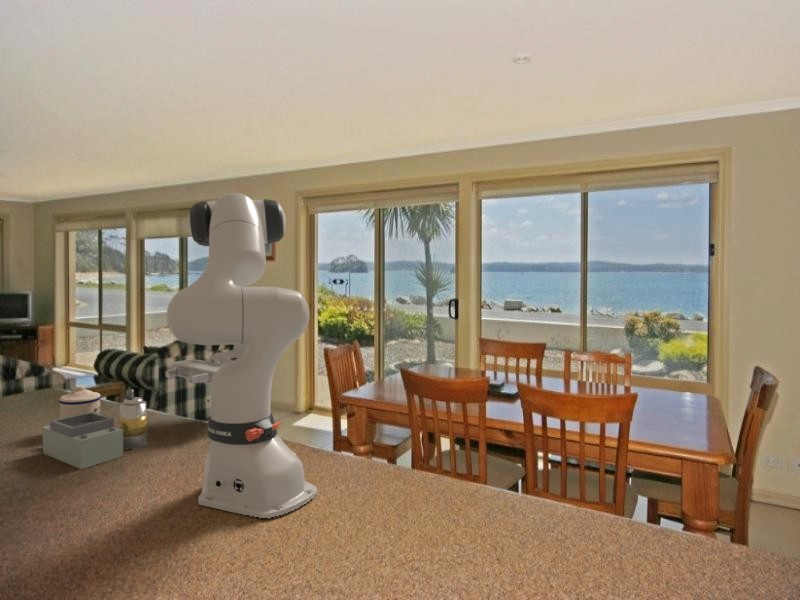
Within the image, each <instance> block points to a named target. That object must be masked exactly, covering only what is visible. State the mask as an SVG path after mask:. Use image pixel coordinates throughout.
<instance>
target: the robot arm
mask: <svg viewBox="0 0 800 600" xmlns="http://www.w3.org/2000/svg"><path fill="white" fill-rule="evenodd" d="M286 228H287V216H286V214H285V211H284V209H283V207H282V205H281V204H280V203H279V202H278V200H272V199H267V198H264V200H260V199H253V198H251V197H249V196H248V195H246V194H244V193H239V192H229V193H226V194H223V195H221V196H219V197H218V199H217V200H210V201H208V200H202V201H199V202H195V203H194V204H193V205H192V206H191V207H190V209H189V213H188V216H187V229H188V231H189V234H190V236H191V237H192V240H193V241H194V242H195V243H196V244H197V245H199V246H203V247H208V257H207V258H208V259H207V264H206V267H205V269H204V271H203V272H202V274H201V275H200V276H199V277H198V278H197V279H196V280H195V281H194V282H192V283H191V284H190V285H188V286H186V287H184V288H182V289H181V290H179V291H177V292H176V293H175V294H174V295H173V297H172V298H171V300H170V302H169V304H168V306H167V309H166V310H167V311H166V323H167V326H168V329H169V331H170V333H171V334H172V335H173V337H175V339H177V341H179V342H180V343H187V344H192V345H193V344H194V345H199V346H200V345H201V346H221V345H222V346H224V345H226V346H227V345H233V346H234V348H233V349H232V350H227V351H222V352H215V353H213V354H212V355H211V356H210V357H209V359H208V360H202V359H186V360H185V359H184V360H178V361H174V362H173V363H172V365H171V368H172V369H167V370H165V377H166V378H169V379H173V378H175V377H179V378H183V379H188V383H191V384H198V383H201V384H202V383H206V384H209V385H210V415H209V417H208V418H207V419H208V420H207V437H208V438H209V446H208V449H207V451H206V455H205V460H204V470H203V479H202V486H201V487H202V488H201V492H200V495H199V496H198V497H197V498H198V499H197V504H198V505H199V506H203V507H206V508H207V507H208V508H212V509H217V510H221V511H226V512H229V513H235V514H240V515H242V516H243V515H244V516H247V515H249V516H248V517H252V516H254V517H253V518H256V517H259V518H258V519H261V518H268V519H272V518H271V517H274V516H277V517H280V516H279V515H281V516H284V515H286V514H288V512H289V513H291V512H294V511H296V510H298V509H299V508H301V507H303V506H305V505H306V504H308V503H309V502H310V500H311V499H312V500H313V499H314V498H315V497H316V496H317V494H318V487H317V486H316V485H314V484H313V483H310V482H308V481H306V480H305V469H304V465H303V462H302V460H301V459H300V458H299V457H298V456H297V454H296V453H295V452H294V451H292V450H291V449H290V448H289V446H288V445H287V444H286V443H285V442H284V441H283V440H282V439H281V438H280V436H279V435H278V429H279V428H282V425H281V423H282V421H278V422H276V421H275V419H274V415H273V413H272V412H271V406H272V405H271V400H272V399H271V398H272V397H271V396H272V384H273V378H274V372H275V370H276V366H277V364H278V362H279V360H280V359H281V357H282V355H283V354H284V353H285V352H286V350H287V349H288V348H289V347H290V346H291V345H292V344H293V343H294V342H295V341H297V340H298V339H300V338H301V337H302V335H303V334H304V333H305V332H306V330H307V328H308V326H309V322H310V309H309V308H310V307H309V304H308V301H307V300H306V298H305V297H304V296H303V294H302V293H301V292H299V291H298V290H294V289H290V288H285V287H280V286H279V287H278V286H251V285H253V284H255V283H257V282H258V281H260V279H261V278H262V277H263V276H264V274H265V271H266V266H267V258H266V257H267V256H266V249H265V248H266V246H265V245H266V244H268V245H271V244H275V243H278V242H279V241H281V240H282V239H283V238H284V234H285V232H286V230H287V229H286ZM315 495H316V496H315ZM312 500H311V501H312ZM307 502H308V503H307ZM304 504H305V505H304ZM302 505H303V506H302ZM300 506H301V507H300ZM295 509H296V510H295ZM290 511H291V512H290ZM285 513H286V514H285ZM283 514H284V515H283ZM274 518H275V517H274Z"/></svg>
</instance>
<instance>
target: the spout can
mask: <svg viewBox="0 0 800 600" xmlns="http://www.w3.org/2000/svg"><path fill="white" fill-rule="evenodd" d="M125 395H126V397H125V399H123V402H121V403H120V404H119V429H122V430H123V448H137V449H139V448H138V447H141V448H143V447H142V446H144V447H146V444H147V445H148V417H147V416H148V415H147V411H148V410H147V401H146V400H144V399H143V398H142V396H141V397H140V396H138V397H137V396H135V389H133V388H131V389H126V393H125Z"/></svg>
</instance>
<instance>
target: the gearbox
mask: <svg viewBox="0 0 800 600" xmlns="http://www.w3.org/2000/svg"><path fill="white" fill-rule="evenodd" d="M49 423H50V424H49V425H45V426H43V427H42V452H43V453H42V454H44V455H46V456H48V457H51V458H53V459H56V460H58V461H60V462H63V463H65V464H67V465H70V466H72V467H75V468H77V469H79V470H83V469H87V468H89V467H93V466H96V464H97V465H99V463H100V464H102V462H103V463H106V462H109V460H110V461H113V460H115V459H114V458H116V459H118V457H119V458H122V457H121V456H123V457H124V449H123V430H122V429H120V428H118V427H116V426H115V419H114V417H111V416H108V415H105V414H101V413H100V414H98V413H94V412H89V413H84V414H80V415H75V416H71V417H66V418H62V419H60V418H59V419H54V420H53V419H52V420H50V421H49ZM112 459H113V460H112Z"/></svg>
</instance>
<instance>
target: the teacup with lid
mask: <svg viewBox="0 0 800 600" xmlns="http://www.w3.org/2000/svg"><path fill="white" fill-rule="evenodd" d="M101 399H102V396H101V393H99V392H95V391H92V390H90V389H86V387H85V385H77V386H76V387H75V390H72V391H70V392H69V393H68V394H64V395H62V396H61V397H60V398H59V401H58V402H59V407H60V409H59V410H60V411H59V413H60V415H59V416H60V418H59V419H62V418H66V417H71V416H75V415H80V414H84V413H89V412H94V413H98V414H101Z"/></svg>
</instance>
